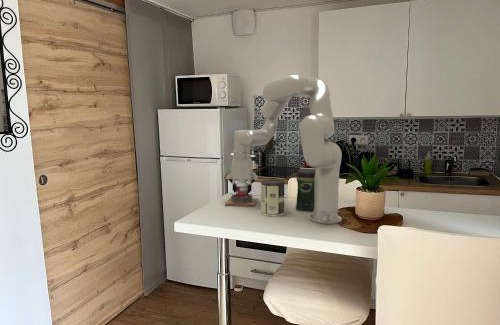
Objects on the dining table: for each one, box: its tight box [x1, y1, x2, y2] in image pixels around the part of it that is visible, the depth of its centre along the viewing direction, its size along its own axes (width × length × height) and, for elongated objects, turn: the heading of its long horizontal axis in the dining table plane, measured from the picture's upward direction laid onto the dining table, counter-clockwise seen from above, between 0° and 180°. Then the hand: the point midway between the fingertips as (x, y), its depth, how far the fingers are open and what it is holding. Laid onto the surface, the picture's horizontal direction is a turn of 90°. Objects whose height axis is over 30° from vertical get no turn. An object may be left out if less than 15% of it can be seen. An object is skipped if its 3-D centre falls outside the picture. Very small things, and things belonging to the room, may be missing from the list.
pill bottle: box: [235, 179, 249, 198], centre depth 178 cm, size 6×6×11 cm
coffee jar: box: [295, 168, 316, 212], centre depth 166 cm, size 10×8×19 cm
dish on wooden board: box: [224, 193, 258, 208], centre depth 179 cm, size 14×14×4 cm
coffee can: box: [260, 179, 286, 217], centre depth 159 cm, size 10×10×14 cm
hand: (242, 192), depth 178 cm, fingers open, 6 cm apart
